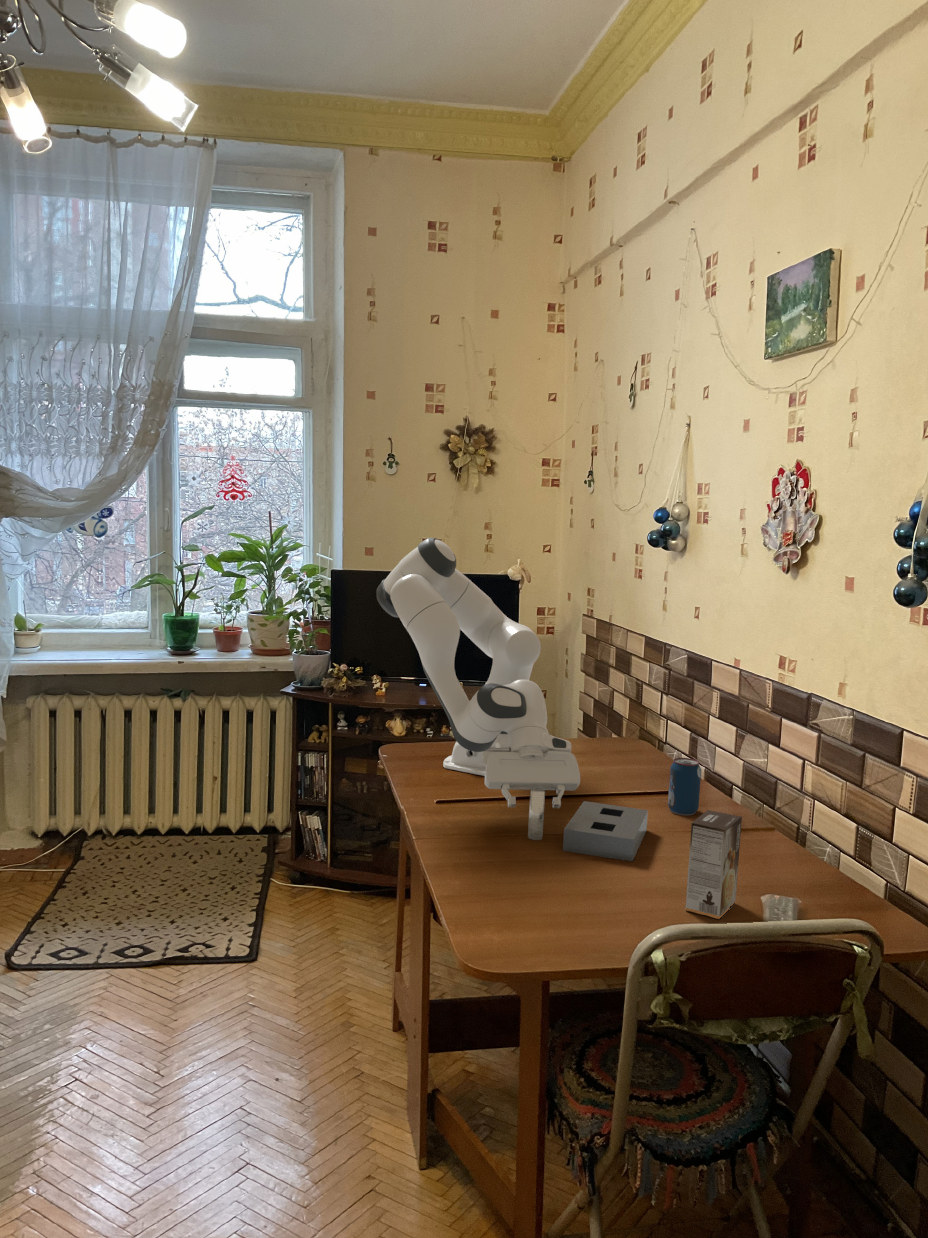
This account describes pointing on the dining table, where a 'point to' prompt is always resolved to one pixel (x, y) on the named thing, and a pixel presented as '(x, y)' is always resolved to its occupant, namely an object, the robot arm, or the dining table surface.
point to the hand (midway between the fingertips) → (534, 806)
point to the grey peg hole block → (605, 831)
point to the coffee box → (713, 862)
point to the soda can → (684, 786)
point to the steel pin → (536, 814)
